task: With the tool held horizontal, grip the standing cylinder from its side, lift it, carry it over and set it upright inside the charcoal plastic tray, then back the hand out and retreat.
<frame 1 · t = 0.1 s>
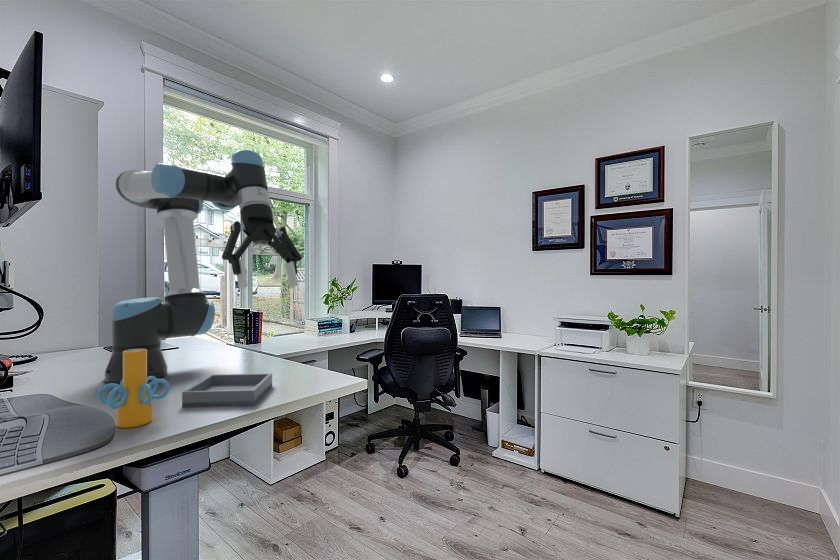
hand: (270, 287, 96), 28 cm above the table, tool tilted 20°, fingers open, 13 cm apart
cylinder: (134, 423, 80), on the table
tray: (231, 395, 98), on the table
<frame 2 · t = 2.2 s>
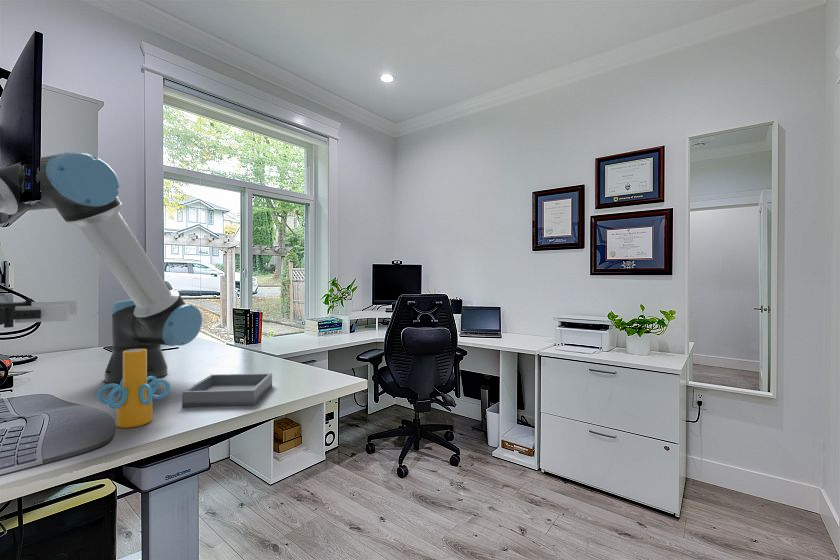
hand: (72, 310, 74), 24 cm above the table, tool horizontal, fingers open, 13 cm apart
nothing on the table moved.
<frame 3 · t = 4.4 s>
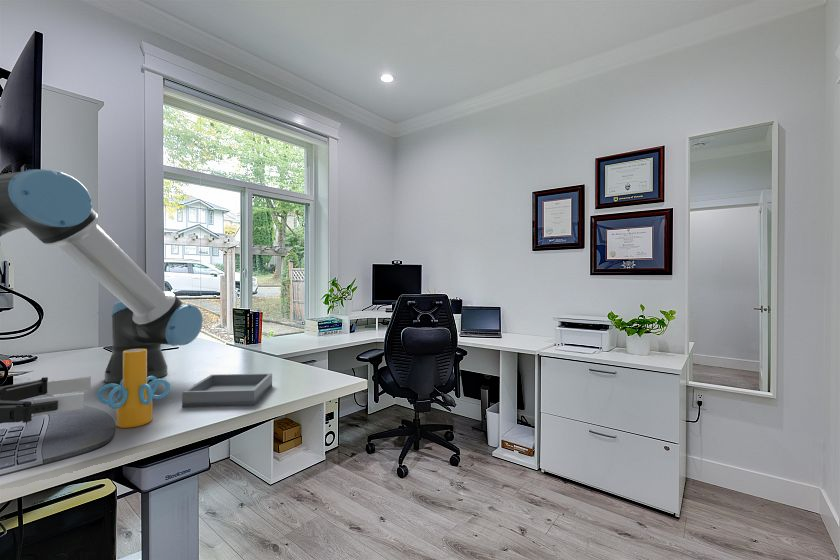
hand: (87, 391, 75), 8 cm above the table, tool horizontal, fingers open, 13 cm apart
nothing on the table moved.
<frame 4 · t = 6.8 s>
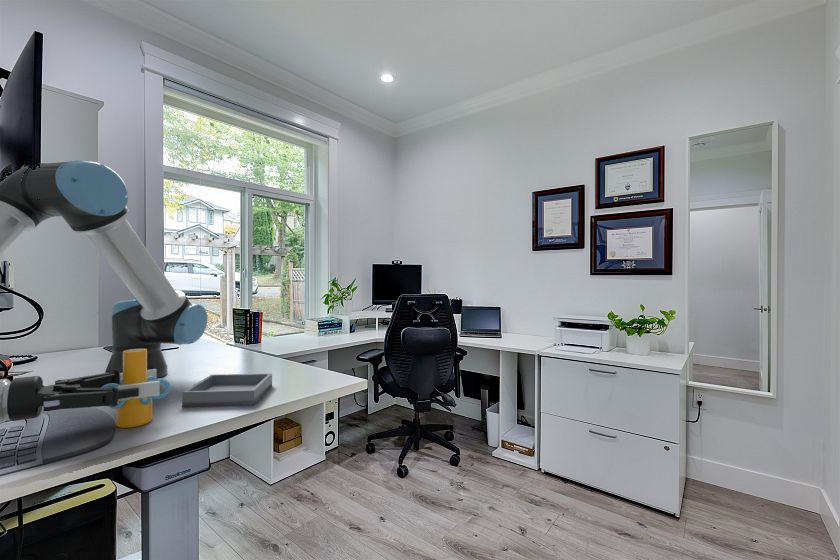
hand: (158, 381, 82), 8 cm above the table, tool horizontal, fingers closed on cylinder, 11 cm apart
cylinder: (134, 423, 80), on the table, touching gripper
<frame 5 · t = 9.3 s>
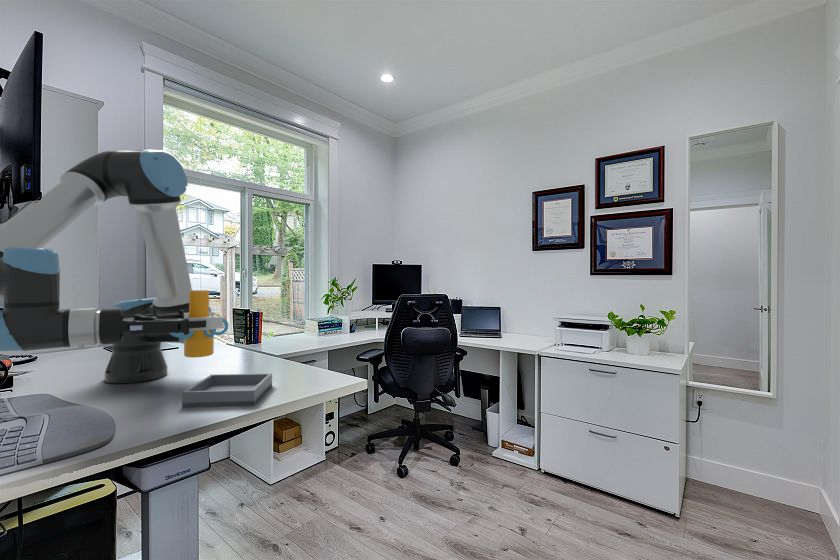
hand: (218, 319, 92), 20 cm above the table, tool horizontal, fingers closed on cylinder, 11 cm apart
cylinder: (199, 355, 90), point 12 cm above the table, touching gripper
when the fingers open (10 cm above the table, at t = 12.3 s): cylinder drops 1 cm, resting on tray.
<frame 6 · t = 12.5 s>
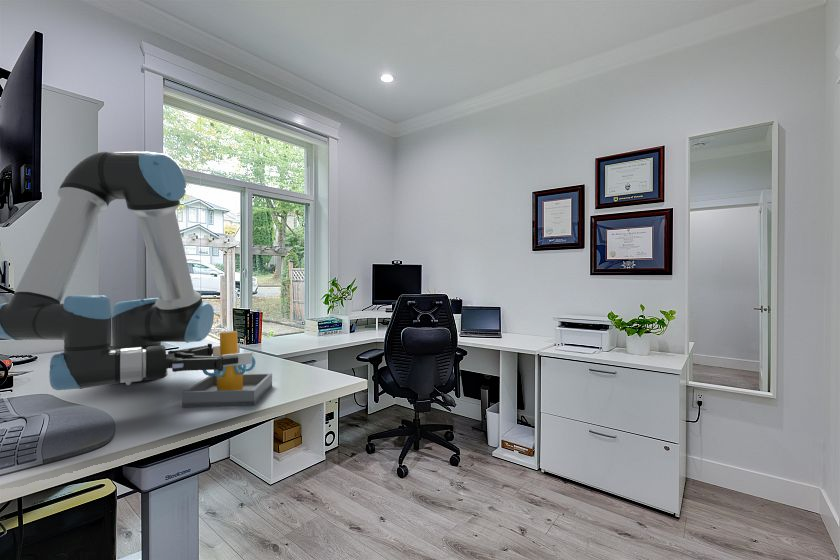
hand: (245, 353, 100), 10 cm above the table, tool horizontal, fingers open, 13 cm apart
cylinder: (230, 391, 99), point 1 cm above the table, touching tray
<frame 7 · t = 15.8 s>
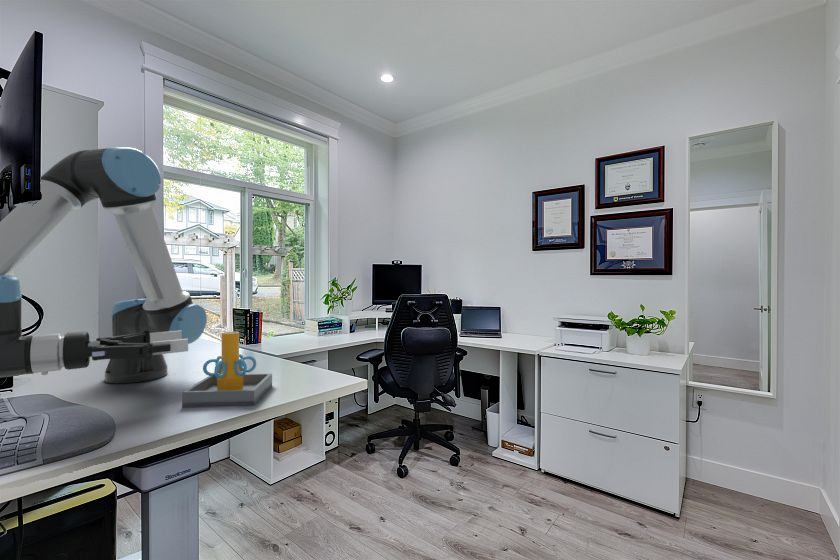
hand: (184, 340, 92), 15 cm above the table, tool horizontal, fingers open, 13 cm apart
nothing on the table moved.
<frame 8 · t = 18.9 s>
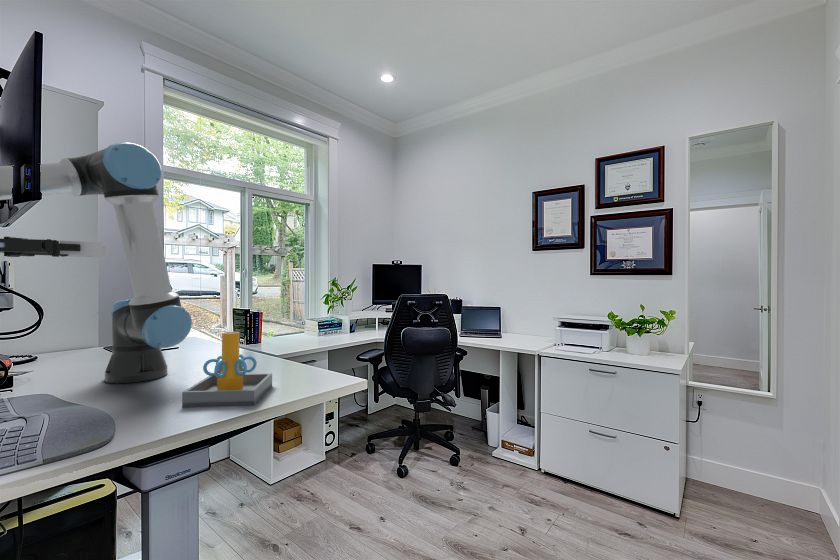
hand: (103, 250, 88), 36 cm above the table, tool horizontal, fingers open, 13 cm apart
nothing on the table moved.
at the end: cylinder inside the target area on the tray (0.4 cm from its centre), point 0.8 cm above the tray's base; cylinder tilted 1°; the gripper is holding nothing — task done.
